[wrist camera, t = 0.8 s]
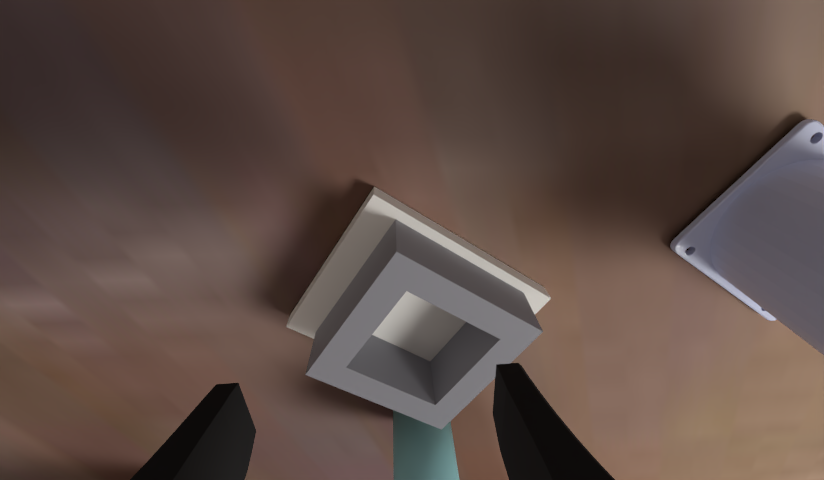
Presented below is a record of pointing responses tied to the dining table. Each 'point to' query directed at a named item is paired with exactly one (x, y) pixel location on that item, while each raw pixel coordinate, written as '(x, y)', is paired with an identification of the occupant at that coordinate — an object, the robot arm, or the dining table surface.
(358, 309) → the socket block
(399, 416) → the dowel
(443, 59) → the dining table surface
